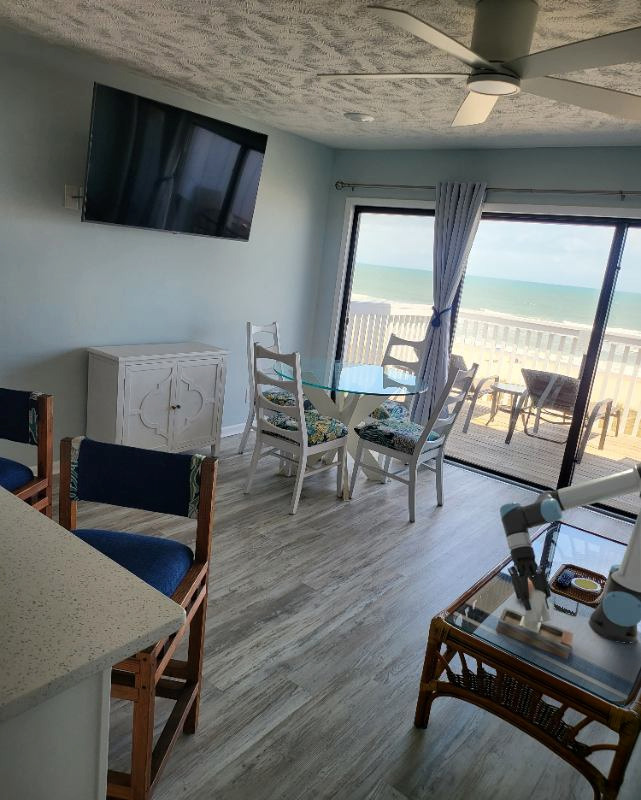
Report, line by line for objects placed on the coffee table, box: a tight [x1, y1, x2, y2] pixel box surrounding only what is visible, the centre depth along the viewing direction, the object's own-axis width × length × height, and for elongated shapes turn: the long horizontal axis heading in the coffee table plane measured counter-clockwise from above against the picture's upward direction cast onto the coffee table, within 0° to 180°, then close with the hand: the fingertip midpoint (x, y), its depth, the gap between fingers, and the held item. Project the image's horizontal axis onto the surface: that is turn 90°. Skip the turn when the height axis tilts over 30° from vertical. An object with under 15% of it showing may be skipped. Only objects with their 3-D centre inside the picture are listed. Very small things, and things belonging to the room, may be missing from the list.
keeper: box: [519, 590, 546, 634], centre depth 196 cm, size 6×7×12 cm
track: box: [496, 607, 574, 660], centre depth 197 cm, size 22×11×4 cm, turn 63°
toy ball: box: [528, 578, 535, 599], centre depth 222 cm, size 8×8×8 cm
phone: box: [553, 601, 577, 616], centre depth 224 cm, size 8×1×15 cm
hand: (540, 620), depth 193 cm, fingers closed on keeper, 4 cm apart
